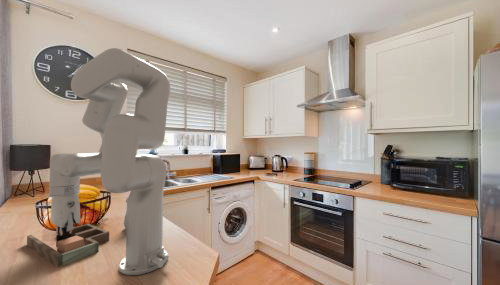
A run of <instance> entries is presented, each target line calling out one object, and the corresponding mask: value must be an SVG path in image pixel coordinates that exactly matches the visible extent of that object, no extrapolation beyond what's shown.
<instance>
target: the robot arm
mask: <svg viewBox="0 0 500 285" xmlns="http://www.w3.org/2000/svg"><path fill="white" fill-rule="evenodd" d="M83 64H84V65H82V66H80V67H79V69H78V70H76V72H75V73H74V74H73V76H72V78H71V81H70V88H71V92H72V93H73V94H74V95H75V96H76V97H79V98H81V99H87V100H89V101H88V104H87V107H86V109H85V111H84V114H83V117H82V123H83V125H84V126H86V127H87V128H89V129H90V130H92V131H95V132H96V133H98V134H99V135H100V137H101V144H100V145H101V146H100V148H99V150H98V152H77V153H76V152H75V153H74V152H73V153H66V152H65V153H55V154H52V155H51V156H50V159H49V185H48V186H49V191H48V197H49V198H51V205H50V206H51V209H50V222H51V223H52V224H53V225H55V226H56V227H55V228H56V229H55V230H56V232H55V233H56V244H55V245H56V248H57V241H61V240H64V239H67V238H70V237H71V230H73V228H74V224H76V225H79V224H80V222H81V205H80V196H79V194H80V189H81V188H80V187H81V182H80V181H81V177H87V176H95V175H100V180H101V185H102V186H103V187H104V189H105V190H106V191H107V192H109V193H112V194H123V193H127V192H128V193H129V195H128V196H127V198H128V200H127V203H126V212H125V215H126V228H125V256H124V258H122V259H121V260H120V262H119V265H118V270H119V273H121V274H122V275H123V274H124V275H127V276H137V275H138V276H139V275H145V274H147V273H151V272H153V271H155V270H158V269H159V268H163V266H164V265H165V263H167V261H168V259H169V254H168V251H167V250H165V246H163V224H164V223H163V221H164V220H163V216H164V215H163V211H164V208H163V207H164V189H165V185H166V184H165V182H166V179H167V171H168V170H167V169H168V168H167V165H166V162H165V161H164V159H163V158H161V157H160V156H158V155H155V154H149V153H148V154H146V153H145V154H137V153H138V151H152V150H157V149H159V148H160V147H161V146H162V145H163V143H165V142H164V141H165V137H166V136H165V135H166V127H167V126H166V125H167V115H168V104H169V98H170V94H171V93H170V92H171V83H170V82H171V81H170V80H169V78H168V76H167V74H166V73H165V72H163V71H162V70H161V69H159V68H157V67H155V66H154V65H152V64H150V63H149V62H146V61H145V60H143V59H141V58H138V57H137V56H135V55H134V54H132V53H129V52H128V51H126V50H124V49H121V48H118V47H117V48H116V47H112V48H108V49H106V50H104V51H102V52H100V53H99V54H98V55H96V56H95V57H94V58H92V59H90V60H89V61H87V62H86V63H83ZM127 86H128V87H132V88H134V89H137V90H139V91H141V92H140V94H139V95H138V96H137V98H136V101H135V104H134V106H135V107H134V114H133V113H131V114H130V113H121V112H122V109H123V106H124V105H125V101H126V99H127V97H128V88H127Z"/></svg>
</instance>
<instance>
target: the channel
mask: <svg viewBox="0 0 500 285" xmlns="http://www.w3.org/2000/svg"><path fill="white" fill-rule="evenodd" d="M76 235H77V236H79V237H82V238H84V246H83V247H80V248H77V249H74V250H71V251H69V252H66V253H63V254H61V253H59V252H57V249H54V248H53V247H51V246H49V245H48V244H46V243H45V242H43V241H42V240H40V239H38V238H37V237H35V236H34V235H32V234H29V235H27V236H26V246H28V247H29V248H31V249H32V250H33V251H35V252H36V253H38V254H39V255H40V256H42V258H43V257H44V258H45V259H46V260H48V261H49V262H50V263H51V264H52V265H54V266H56V267H57V268H60V267H62V266H65V265H68V264H70V263H73V262H75V261H77V260H80V259H83V258H86V257H88V256H91V255H93V254H96V253H99V248H100V244H103V243H105V242H108V241H109V240H110V231H108V230H106V229H103V228H100V227H98V226H95V225H93V224H91V223H86V224H83V225H79V226H75V227H73V230H71V237H73V236H76ZM44 258H43V259H44Z"/></svg>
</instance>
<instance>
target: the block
mask: <svg viewBox="0 0 500 285" xmlns="http://www.w3.org/2000/svg"><path fill="white" fill-rule="evenodd" d="M83 246H84V238H82V237H79V236H77V235H76V236H73V237H70V238H67V239H64V240H61V241H57V247H56V251H57V252H59V253H61V254H63V253H66V252H69V251H71V250H74V249H77V248H80V247H83Z"/></svg>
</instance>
